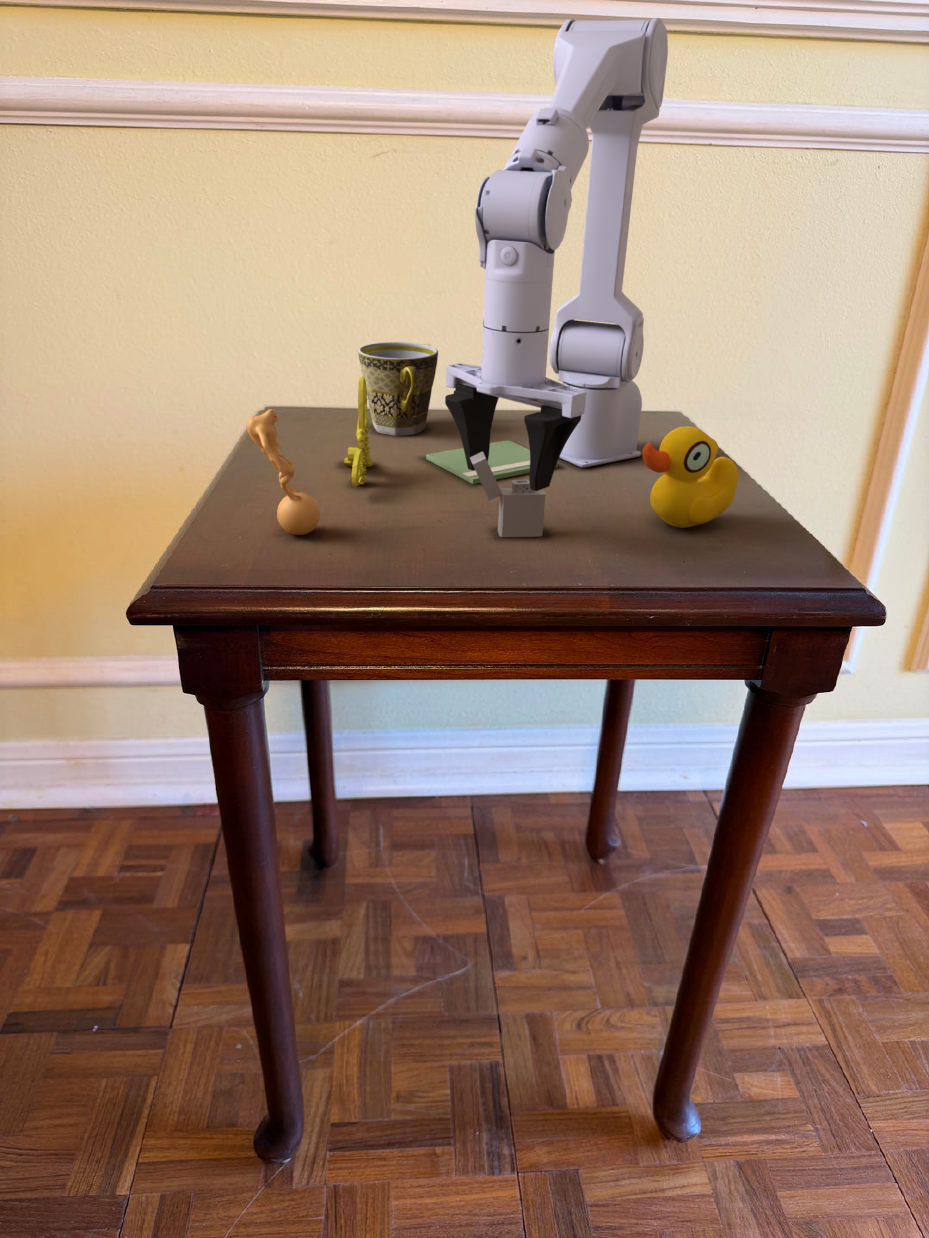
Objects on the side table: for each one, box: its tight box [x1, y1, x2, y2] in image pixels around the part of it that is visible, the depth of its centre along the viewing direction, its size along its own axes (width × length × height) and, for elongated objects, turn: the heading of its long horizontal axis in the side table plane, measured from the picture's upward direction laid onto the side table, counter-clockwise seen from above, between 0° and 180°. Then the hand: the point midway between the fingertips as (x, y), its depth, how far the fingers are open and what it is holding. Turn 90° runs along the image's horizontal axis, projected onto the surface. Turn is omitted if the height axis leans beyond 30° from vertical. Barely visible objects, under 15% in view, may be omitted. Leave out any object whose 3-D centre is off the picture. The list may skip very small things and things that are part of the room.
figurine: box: [245, 408, 321, 536], centre depth 80 cm, size 8×6×12 cm
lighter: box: [470, 452, 546, 538], centre depth 83 cm, size 7×2×8 cm, turn 97°
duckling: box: [642, 425, 739, 529], centre depth 86 cm, size 11×5×10 cm, turn 115°
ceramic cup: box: [357, 341, 439, 437], centre depth 111 cm, size 13×10×10 cm
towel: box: [425, 439, 559, 485], centre depth 103 cm, size 12×10×1 cm
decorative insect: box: [343, 376, 374, 487], centre depth 97 cm, size 13×3×10 cm
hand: (507, 477), depth 82 cm, fingers open, 7 cm apart
